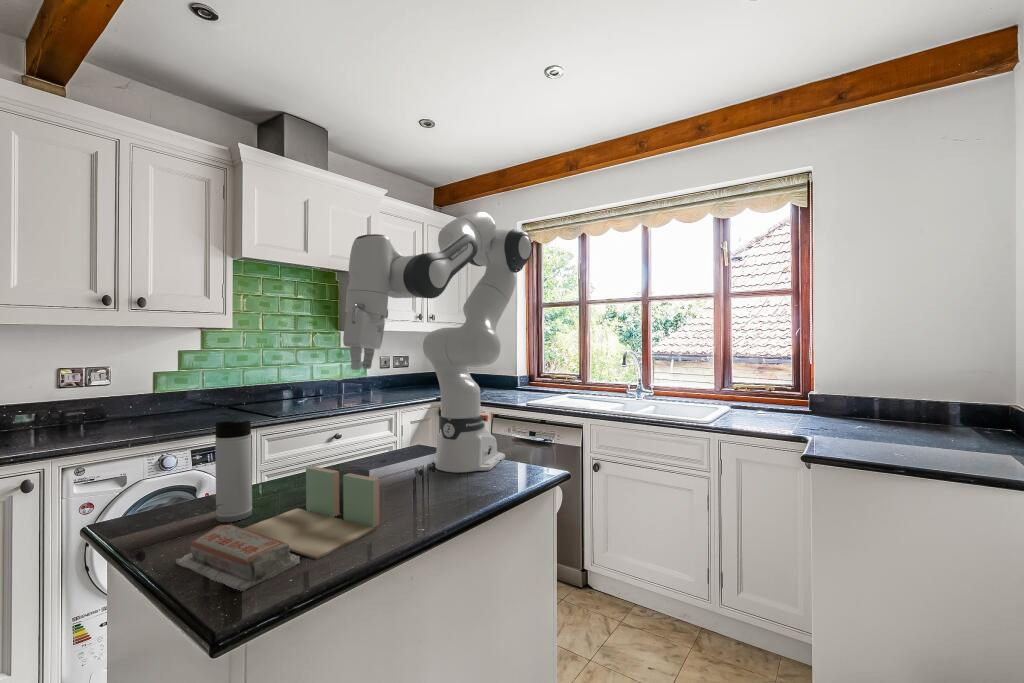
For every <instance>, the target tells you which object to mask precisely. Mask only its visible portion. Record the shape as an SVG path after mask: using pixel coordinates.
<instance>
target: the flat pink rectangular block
mask: <svg viewBox="0 0 1024 683" xmlns="http://www.w3.org/2000/svg"><path fill="white" fill-rule="evenodd" d="M305 504H306V507H305V508H306V509H305V510H307V511H311V512H314V513H319V514H322V515H326V516H330V517H334V518H336V517H337V516H339V515H340V471H339V470H335V469H328V468H323V467H320V466H319V467H318V466H308V467H305ZM335 516H336V517H335Z"/></svg>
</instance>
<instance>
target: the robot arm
mask: <svg viewBox="0 0 1024 683" xmlns="http://www.w3.org/2000/svg"><path fill="white" fill-rule="evenodd" d="M437 241H438V242H437V244H438V247H439V250H440V251H438V252H426V253H425V252H424V253H420V254H415V255H408V256H404V255H403V254H401V253H400V252H399V251H398V250H397V249H396V248H395V247H394V245H393V244H392V243H391V240H390V237H389V236H386V234H385V235H384V234H380V233H379V234H377V233H376V234H375V233H373V234H363V235H362V234H361V235H359V236H357V237H356V238H355V239H354V241H353V243H352V246H351V250H350V255H349V261H348V262H349V263H348V276H349V281H348V282H349V283H348V286H347V288H346V296H345V297H346V298H345V306H344V307H345V310H344V312H345V313H346V317H345V322H344V327H343V328H344V330H343V338H342V341H343V346H344V347H347V348H348V347H350V348H349V350H350V351H349V354H350V355H349V356H350V360H351V365H350V368H351V370H355V371H359V370H361V369H365V370H367V369H368V370H371V368H372V366H373V360H374V356H375V350H380V349H381V347H382V343H383V337H384V332H385V325H386V320H385V319H388V316H389V309H388V304H389V298H393V299H412V298H413V299H415V298H421V299H435V298H438V297H440V295H441V294H443V293H444V291H445V290H446V288H447V287H448V284H449V283H450V281H451V280H452V279H453V277H454V276H455V275H456V274H457V273H459V272H460V271H461V270H462V269H463V268H464V267H465V266H467V264H468V263H469V264H471V265H472V266H475V267H485V271H484V274H483V276H481V278H480V279H479V280H478V282H477V283H476V285H475V287H474V288H473V289H472V291H471V293H470V294H469V296H468V298H467V299H466V301H465V302H464V304H463V307H462V311H463V315H464V317H465V322H464V323H463V324H462V325H461V326H458V327H442V328H438V329H435V330H432V331H430V332H428V333H427V334H426V336H424V337H425V338H423V339H424V340H423V342H422V350H423V355H424V356H425V358H426V359H427V360H428V361H429V362H430V363H431V366H432V367H433V369H434V372H435V374H436V377H437V380H438V383H439V384H438V385H439V389H440V390H439V391H440V416H439V421H438V424H439V430H440V432H439V433H438V434H437V439H436V449H435V450H436V451H435V453H436V454H435V457H434V458H433V461H432V462H433V463H434V464H435V466H434V467H435V469H437V470H440V471H442V472H446V473H447V472H448V473H470V472H478V471H481V472H482V471H491V469H493V468H494V467H495V466H496V465H498V464H499V463H501V461H503V460H504V459H505V458H506V454H505V453H502V452H500V451H498V443H497V439H496V437H495V436H494V435H493V434H492V433H490V432H489V431H488V430H487V428H485V423H486V422H488V421H489V415H488V414H484V413H482V414H481V388H480V386H479V384H478V383H477V382H476V381H475V380H474V379H473V377H472V376H471V374H470V370H469V368H480V367H485V366H489V365H492V364H494V363H495V362H496V361H497V359H498V358H499V356H500V353H501V348H502V347H501V341H500V338H499V336H498V335H497V333H496V330H497V325H498V323H499V320H500V319H501V317H502V315H503V313H504V311H505V310H506V308H507V306H508V304H509V302H510V300H511V297H512V296H513V293H514V290H515V287H516V284H517V278H516V276H515V274H516V273H519V272H521V271H522V270H523V268H524V266H525V265H526V264H527V263H528V262H529V260H530V257H531V255H532V251H533V245H532V239H531V238H530V236H529V234H528V233H527V232H526V231H524V230H521V229H515V228H514V229H504V228H503V229H501V228H499V229H497V227H496V223H495V220H494V218H493V217H492V216H491V214H488V213H487V212H485V211H480V210H479V211H478V210H477V211H476V210H475V211H473V212H472V211H471V212H469V213H466V214H463V215H460V216H459V217H457V218H455V219H453V220H452V221H449V222H448V223H447V224H445V225H444V227H442V228H441V230H440V231H439V233H438V237H437ZM362 354H364V355H363V360H362ZM484 422H485V423H484ZM495 459H497V460H495ZM499 460H501V461H499Z"/></svg>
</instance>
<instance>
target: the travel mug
mask: <svg viewBox="0 0 1024 683" xmlns="http://www.w3.org/2000/svg"><path fill="white" fill-rule="evenodd" d="M251 422H252V420H243V421H235V420H222V421H217V422H216V421H215V437H214V439H215V445H214V446H215V448H214V450H215V454H214V455H215V512H216V514H215V518H216V521H217V522H219V523H225V522H226V523H235V522H239V521H238V520H240V521H243V520H245V519H247V518H249V517H250V516H252V514H253V489H252V488H253V487H252V486H253V484H252V483H253V482H252V481H253V479H252V478H253V476H252V471H253V470H252V463H253V462H252V437H251V436H252V431H251V429H252V425H251V424H252V423H251ZM242 519H243V520H242ZM234 521H235V522H234Z"/></svg>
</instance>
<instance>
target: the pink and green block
mask: <svg viewBox="0 0 1024 683" xmlns="http://www.w3.org/2000/svg"><path fill="white" fill-rule="evenodd" d="M342 479H343V480H342V482H343V484H342V490H343V492H342V495H343V497H342V498H343V499H342V500H343V505H342V506H343V510H342V511H343V520H345V521H349V522H353V523H357V524H361V525H365V526H369V527H373V528H376V527H378V526H380V478H377V477H371V476H367V475H360V474H355V473H351V472H350V473H346V474H343V475H342Z"/></svg>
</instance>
